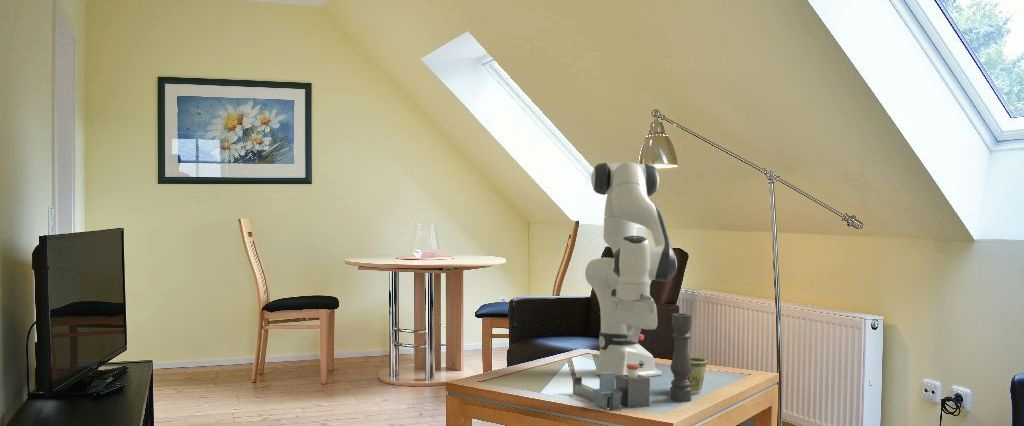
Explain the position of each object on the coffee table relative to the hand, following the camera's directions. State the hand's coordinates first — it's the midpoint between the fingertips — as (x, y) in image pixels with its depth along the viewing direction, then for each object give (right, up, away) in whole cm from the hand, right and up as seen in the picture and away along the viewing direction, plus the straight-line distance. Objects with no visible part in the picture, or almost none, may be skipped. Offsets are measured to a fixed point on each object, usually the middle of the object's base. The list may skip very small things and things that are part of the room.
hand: (633, 341), depth 253 cm
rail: (-10, -18, +3) cm, 21 cm away
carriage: (-8, -18, -3) cm, 20 cm away
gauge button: (0, -13, 0) cm, 13 cm away
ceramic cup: (+21, -18, +20) cm, 34 cm away
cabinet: (0, -18, 0) cm, 18 cm away
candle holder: (+15, -18, +8) cm, 25 cm away
